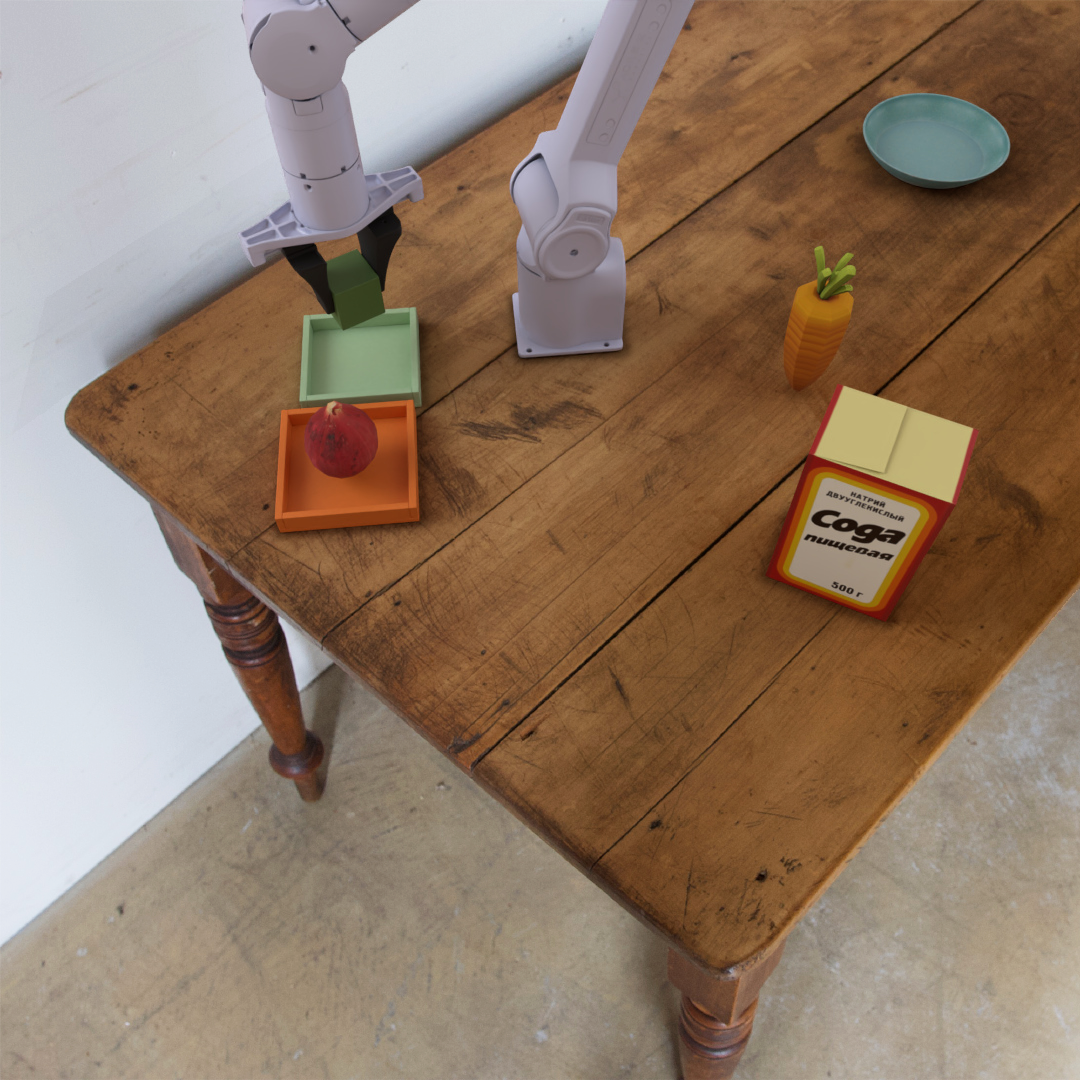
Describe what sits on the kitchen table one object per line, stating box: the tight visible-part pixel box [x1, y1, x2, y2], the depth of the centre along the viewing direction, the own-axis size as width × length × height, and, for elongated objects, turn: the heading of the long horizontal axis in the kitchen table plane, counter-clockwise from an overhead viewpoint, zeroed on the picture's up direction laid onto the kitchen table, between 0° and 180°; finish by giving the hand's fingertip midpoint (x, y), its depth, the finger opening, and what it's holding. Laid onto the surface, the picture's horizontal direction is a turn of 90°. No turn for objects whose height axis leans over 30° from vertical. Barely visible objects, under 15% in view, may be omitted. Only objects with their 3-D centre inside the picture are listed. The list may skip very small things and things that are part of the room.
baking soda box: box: [764, 383, 980, 623], centre depth 71 cm, size 10×6×16 cm
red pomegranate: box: [304, 401, 378, 479], centre depth 79 cm, size 6×6×8 cm
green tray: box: [299, 306, 422, 408], centre depth 88 cm, size 10×10×2 cm
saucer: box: [862, 92, 1011, 190], centre depth 103 cm, size 15×15×3 cm
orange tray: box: [274, 400, 420, 534], centre depth 82 cm, size 11×11×2 cm
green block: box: [325, 248, 386, 331], centre depth 82 cm, size 4×4×4 cm
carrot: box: [782, 245, 857, 392], centre depth 81 cm, size 5×5×15 cm
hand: (351, 295), depth 83 cm, fingers closed on green block, 4 cm apart
